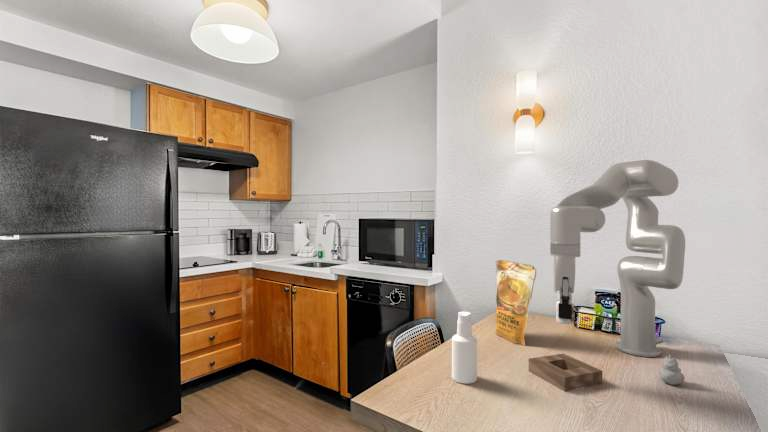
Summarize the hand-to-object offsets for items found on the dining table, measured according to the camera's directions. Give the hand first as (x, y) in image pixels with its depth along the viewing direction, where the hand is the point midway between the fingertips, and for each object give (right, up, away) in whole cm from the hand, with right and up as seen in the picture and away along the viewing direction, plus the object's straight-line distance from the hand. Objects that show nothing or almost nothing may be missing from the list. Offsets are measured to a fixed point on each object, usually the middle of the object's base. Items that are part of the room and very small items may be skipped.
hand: (564, 315), depth 100 cm
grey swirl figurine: (+27, -18, -3) cm, 33 cm away
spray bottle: (-28, -17, -1) cm, 33 cm away
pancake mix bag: (-3, -18, +33) cm, 37 cm away
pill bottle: (0, -2, 0) cm, 2 cm away
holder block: (0, -17, 0) cm, 17 cm away
